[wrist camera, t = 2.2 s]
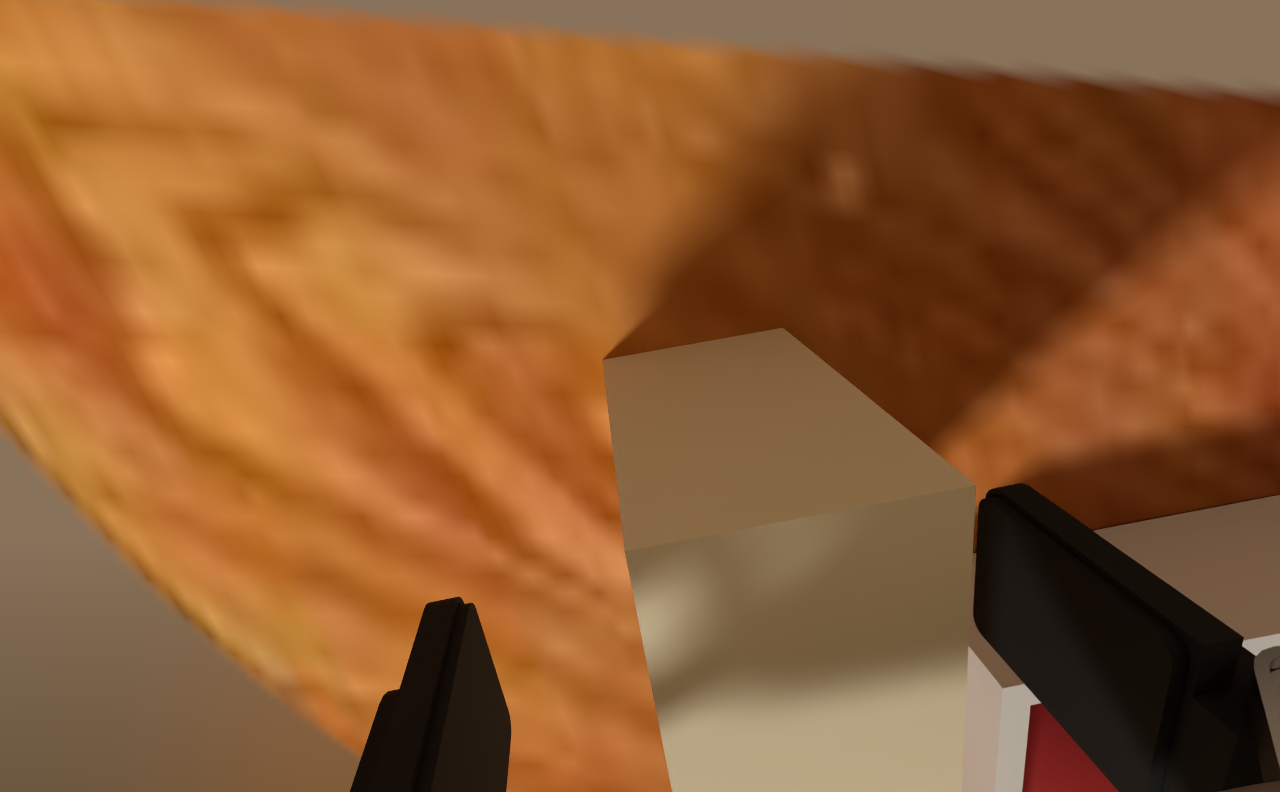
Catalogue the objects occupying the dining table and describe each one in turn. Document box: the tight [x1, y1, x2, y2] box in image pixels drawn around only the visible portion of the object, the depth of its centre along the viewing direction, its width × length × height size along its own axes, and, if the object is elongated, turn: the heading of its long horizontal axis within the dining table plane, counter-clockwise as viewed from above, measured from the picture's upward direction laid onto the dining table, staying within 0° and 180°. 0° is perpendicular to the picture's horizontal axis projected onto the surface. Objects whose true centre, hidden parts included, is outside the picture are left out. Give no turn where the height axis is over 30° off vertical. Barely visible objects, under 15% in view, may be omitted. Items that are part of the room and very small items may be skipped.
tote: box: [962, 495, 1280, 792], centre depth 18 cm, size 12×12×4 cm
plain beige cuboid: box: [602, 328, 976, 792], centre depth 13 cm, size 4×7×8 cm, turn 9°
